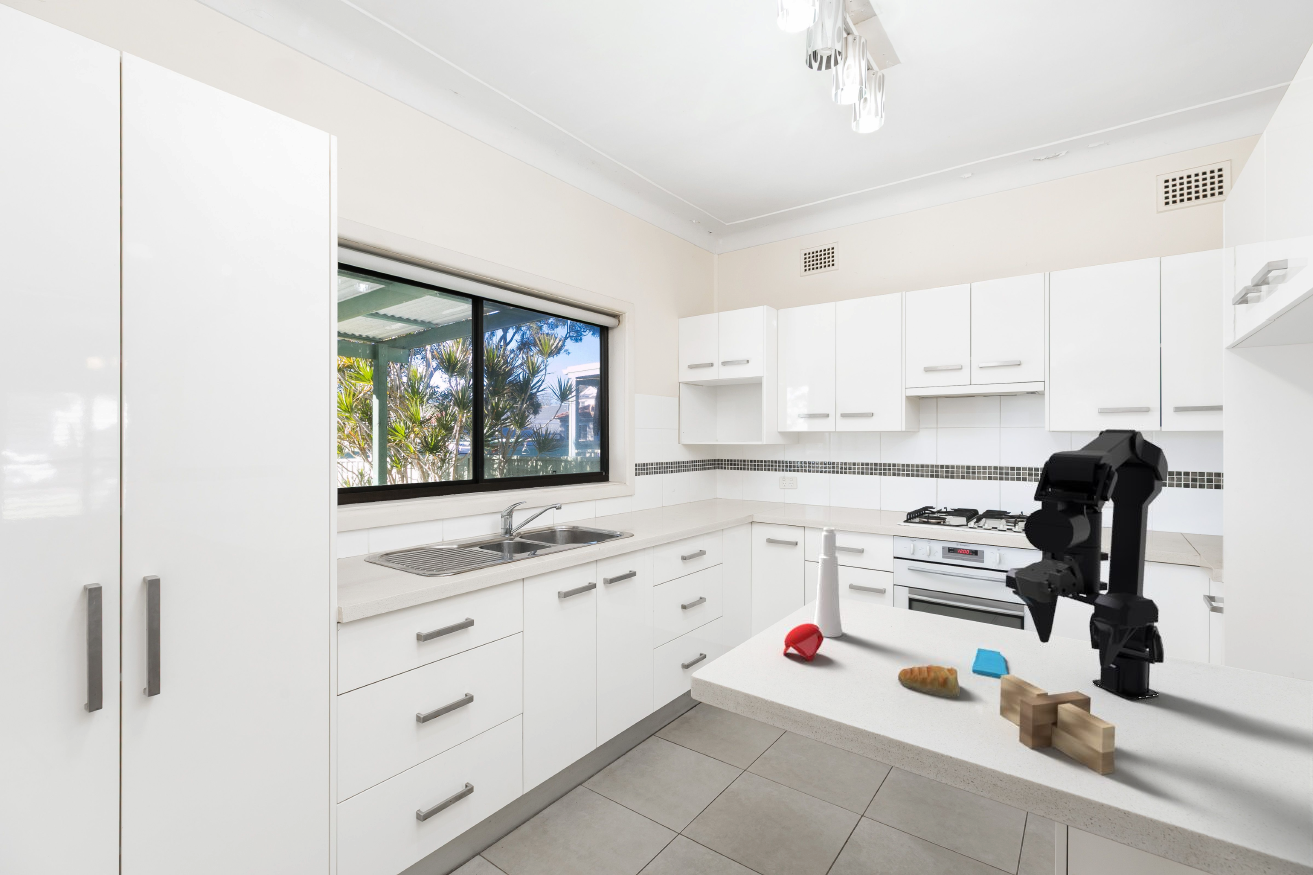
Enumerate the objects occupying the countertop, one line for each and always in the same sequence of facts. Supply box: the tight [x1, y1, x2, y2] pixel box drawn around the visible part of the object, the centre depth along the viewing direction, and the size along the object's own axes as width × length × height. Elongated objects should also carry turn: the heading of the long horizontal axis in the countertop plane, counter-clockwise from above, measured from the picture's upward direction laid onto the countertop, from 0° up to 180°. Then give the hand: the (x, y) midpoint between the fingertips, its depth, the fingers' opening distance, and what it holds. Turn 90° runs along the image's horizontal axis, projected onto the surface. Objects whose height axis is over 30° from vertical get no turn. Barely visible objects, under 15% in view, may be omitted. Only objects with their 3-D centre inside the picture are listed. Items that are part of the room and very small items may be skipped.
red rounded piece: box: [782, 622, 825, 661], centre depth 114 cm, size 8×6×6 cm
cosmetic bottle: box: [813, 526, 843, 638], centre depth 127 cm, size 6×6×22 cm
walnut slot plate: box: [1018, 690, 1092, 750], centre depth 84 cm, size 10×2×6 cm, turn 104°
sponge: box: [971, 647, 1009, 679], centre depth 111 cm, size 2×12×6 cm
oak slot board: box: [999, 674, 1116, 776], centre depth 84 cm, size 16×2×6 cm, turn 14°
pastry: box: [897, 664, 961, 698], centre depth 101 cm, size 9×7×4 cm
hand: (1072, 653), depth 85 cm, fingers open, 9 cm apart
